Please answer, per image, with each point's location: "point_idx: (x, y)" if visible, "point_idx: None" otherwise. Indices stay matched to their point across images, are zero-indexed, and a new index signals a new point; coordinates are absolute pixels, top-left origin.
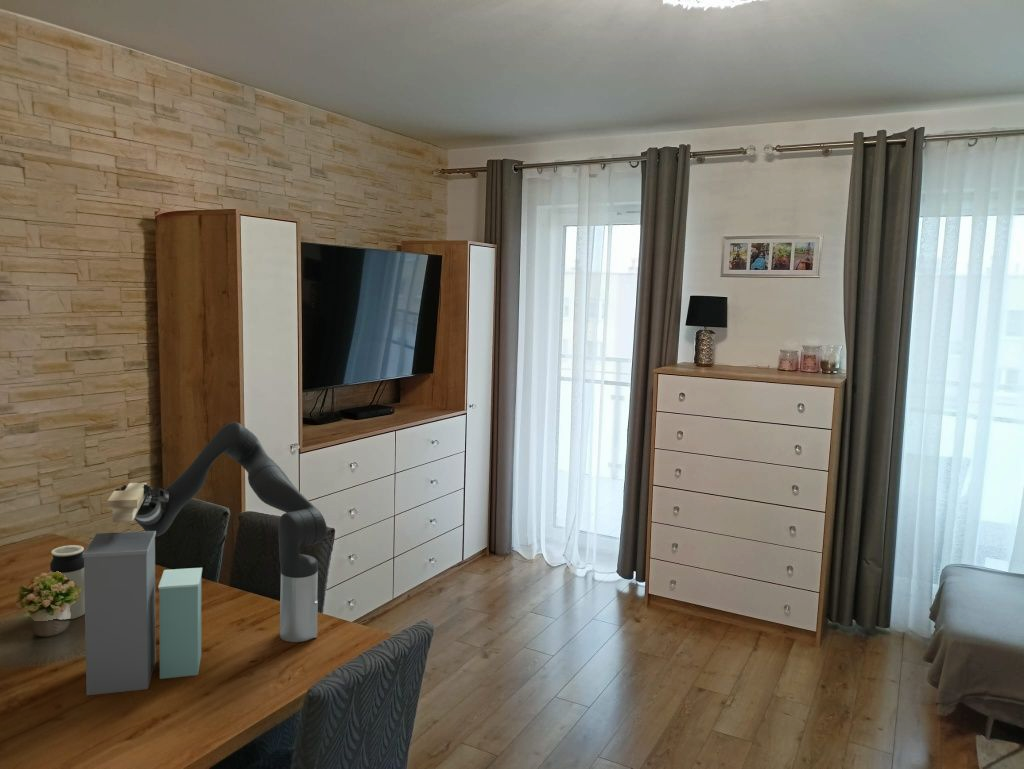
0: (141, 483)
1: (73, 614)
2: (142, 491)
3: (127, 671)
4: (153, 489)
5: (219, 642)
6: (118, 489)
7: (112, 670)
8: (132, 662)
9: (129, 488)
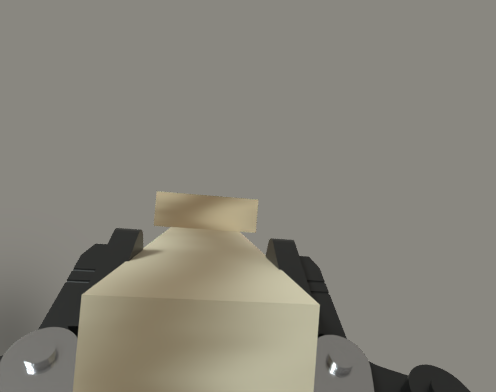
0: (158, 287)
1: None
2: (157, 196)
3: None
4: (1, 357)
5: None
6: (415, 368)
7: None
8: None
9: (242, 255)
